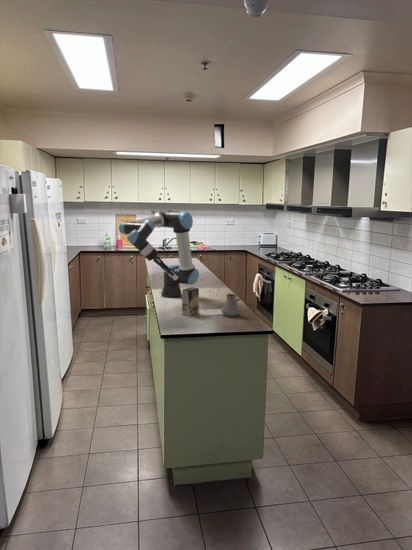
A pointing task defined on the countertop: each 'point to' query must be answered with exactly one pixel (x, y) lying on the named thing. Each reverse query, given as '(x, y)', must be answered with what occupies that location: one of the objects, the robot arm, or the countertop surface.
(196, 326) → the countertop surface
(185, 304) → the coffee box
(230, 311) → the coffee pot
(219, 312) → the mat
